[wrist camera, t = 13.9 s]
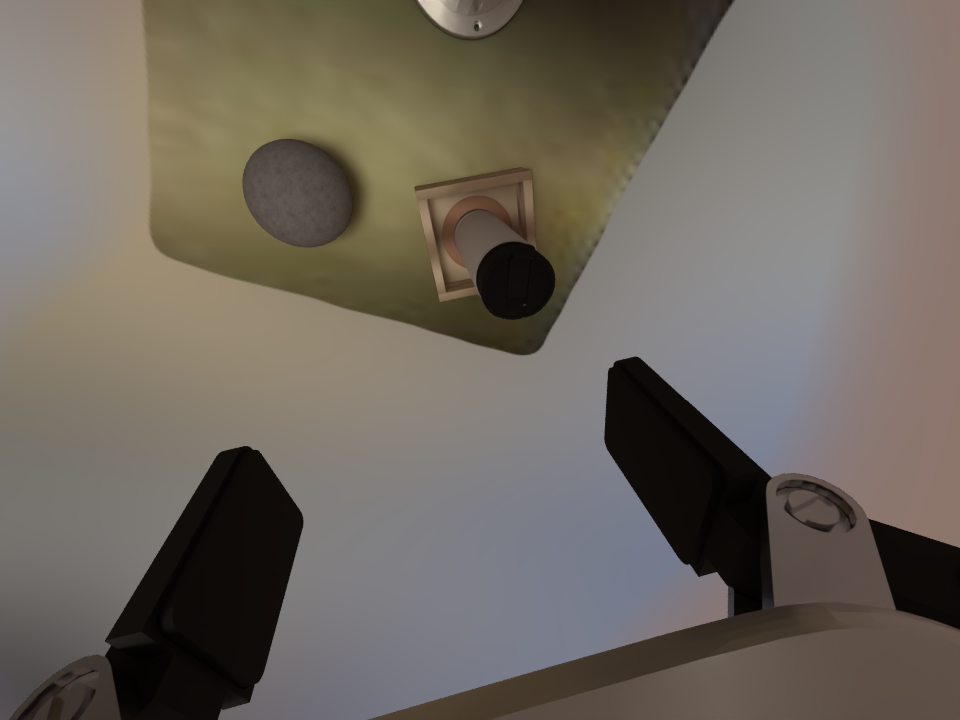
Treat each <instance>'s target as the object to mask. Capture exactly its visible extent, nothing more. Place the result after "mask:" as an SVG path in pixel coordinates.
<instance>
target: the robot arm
mask: <svg viewBox="0 0 960 720" xmlns="http://www.w3.org/2000/svg"><path fill="white" fill-rule="evenodd" d="M522 1H523V0H415V2H416V3H417V5H418V6H419V8H420V9H421V11H422V12H423V14H424V15H425V16H426V17H427V18H428V19H429V20H430V21H431V22H432V23H433V24H434V25H435V26H436V27H438V28H439V29H441V30H442V31H444V32H445V33H447V34H449V35H452V36H454V37H456V38H462V39H468V40H470V39H481V38H483V37H486V36H489V35H492V34H493V33H495V32H496V31H498V30H499V29H501V28H502V27H503V26H504V25H505V24H506V23H507V22H508V21H509V20H510V19H511V18H512V16H513V15H514V14H515V12H516V11H517V10H518V8H519V6H520V5H521V3H522ZM475 25H477V26H478V28H479V31H475V29H474V26H475ZM604 440H605V444H606V447H607V450H608V451H609V453H610V455H611V456H612V458H613V459H614V460H615V462H616V463H617V465H618V467H619V468H620V470H621V471H622V473H623V474H624V476H625V477H626V479H627V480H628V482H629V483H630V485H631V486H632V488H633V489H634V491H635V492H636V494H637V495H638V497H639V499H640V500H641V502H642V503H643V505H644V506H645V508H646V509H647V510H648V512H649V514H650V515H651V517H652V518H653V520H654V521H655V523H656V524H657V526H658V527H659V529H660V530H661V532H662V533H663V535H664V536H665V538H666V539H667V541H668V543H669V544H670V546H671V547H672V549H673V550H674V552H675V553H676V555H677V556H678V558H679V559H680V560H681V561H682V562H683V563H684V564H687V565H688V564H690V565H691V566H692V568H693V569H694V571H695V572H696V574H697V575H698V577H700V576H703V575H707V574H711V573H714V572H718V574H719V575H720V577H721V578H722V579H723V581H724V582H725V583H726V585H728V618H725V619H722V620H718V621H714V622H710V623H706V624H702V625H699V626H695V627H691V628H687V629H683V630H679V631H676V632H672V633H668V634H665V635H661V636H657V637H654V638H651V639H647V640H643V641H640V642H637V643H633V644H629V645H626V646H622V647H619V648H616V649H612V650H608V651H605V652H601V653H597V654H594V655H590V656H587V657H583V658H580V659H577V660H573V661H569V662H566V663H562V664H559V665H555V666H552V667H549V668H545V669H541V670H538V671H534V672H531V673H528V674H524V675H521V676H517V677H514V678H510V679H507V680H503V681H500V682H496V683H493V684H489V685H486V686H482V687H479V688H476V689H472V690H469V691H465V692H462V693H458V694H455V695H451V696H448V697H444V698H441V699H438V700H434V701H431V702H427V703H424V704H420V705H417V706H413V707H410V708H407V709H403V710H400V711H396V712H393V713H390V714H386V715H383V716H379V717H376V718H373V719H369V720H960V548H958V547H955V546H952V545H949V544H946V543H943V542H940V541H936V540H933V539H930V538H927V537H924V536H921V535H918V534H915V533H912V532H908V531H905V530H902V529H899V528H896V527H893V526H890V525H887V524H883V523H880V522H877V521H874V520H871V519H868V518H867V516H866V514H865V512H864V510H863V508H862V507H861V506H860V505H859V504H858V503H857V502H856V501H855V500H854V499H853V498H852V497H851V496H849V495H848V494H847V493H845V492H844V491H842V490H841V489H840V488H838V487H836V486H834V485H832V484H830V483H828V482H826V481H824V480H821V479H818V478H815V477H812V476H809V475H803V474H796V473H789V474H781V475H778V476H775V477H773V478H772V477H770V476H769V475H768V474H767V473H766V472H765V471H764V470H763V469H762V468H761V467H759V466H758V465H757V464H756V463H755V462H754V461H753V460H752V459H750V458H749V456H747V455H746V454H745V453H744V452H743V451H742V450H741V449H740V448H739V447H738V446H736V445H735V444H734V443H733V442H732V441H731V440H730V439H729V438H728V437H727V436H725V435H724V434H723V433H722V432H721V431H720V430H719V429H718V428H717V427H716V426H715V425H713V424H712V423H711V422H710V421H709V420H708V419H707V418H706V417H705V416H704V415H702V414H701V413H700V412H699V411H698V410H697V409H696V408H695V407H693V406H692V404H690V403H689V402H688V401H687V400H685V399H684V398H683V397H682V396H681V395H680V394H678V393H677V392H676V391H675V390H674V389H673V388H672V387H671V386H670V385H669V384H668V383H667V382H666V381H664V380H663V379H662V378H661V377H660V376H659V375H658V374H657V373H656V372H655V371H654V370H652V369H651V368H650V367H649V366H648V365H647V364H646V363H645V362H644V361H643V360H641V359H640V358H639V357H631V358H627V359H623V360H618V361H616V362H615V363H614V365H613V367H612V368H609V370H608V382H607V401H606V417H605V437H604ZM302 528H303V516H302V513H301V511H300V510H299V508H298V507H297V505H296V504H295V503H294V501H293V499H292V498H291V497H290V495H289V494H288V492H287V491H286V489H285V488H284V486H283V485H282V484H281V482H280V481H279V479H278V478H277V476H276V475H275V473H274V472H273V470H272V469H271V468H270V466H269V465H268V463H267V462H266V460H265V459H264V457H263V456H262V454H261V453H260V452H259V451H258V450H253V449H252V448H250V447H249V446H243V447H239V448H234V449H231V450H226V451H222V452H220V453H219V454H218V455H217V456H216V458H215V460H214V461H213V463H212V465H211V466H210V468H209V470H208V472H207V473H206V475H205V476H204V478H203V480H202V481H201V483H200V485H199V486H198V488H197V490H196V491H195V493H194V495H193V496H192V498H191V499H190V501H189V503H188V504H187V506H186V508H185V509H184V511H183V513H182V514H181V516H180V518H179V519H178V521H177V523H176V524H175V526H174V528H173V530H172V531H171V533H170V534H169V536H168V538H167V539H166V541H165V542H164V544H163V546H162V547H161V549H160V551H159V553H158V554H157V556H156V557H155V559H154V561H153V562H152V564H151V565H150V567H149V569H148V570H147V573H146V574H145V575H144V577H143V579H142V580H141V582H140V584H139V585H138V587H137V589H136V590H135V592H134V594H133V595H132V597H131V599H130V600H129V602H128V603H127V605H126V607H125V608H124V610H123V612H122V613H121V615H120V617H119V619H118V620H117V622H116V623H115V625H114V627H113V628H112V630H111V632H110V633H109V635H108V637H107V638H106V640H105V642H107V643H109V644H110V645H111V647H110V648H109V650H108V652H107V653H106V655H105V657H104V656H101V655H92V656H86V657H83V658H81V659H79V660H77V661H75V662H72V663H70V664H68V665H67V666H65V667H64V668H62V669H61V670H59V671H58V672H56V673H55V674H53V675H52V676H51V677H49V679H47V680H46V681H45V682H44V683H42V684H41V685H40V686H39V687H38V688H37V689H36V690H34V691H33V692H32V693H31V695H29V697H28V698H27V699H26V700H25V701H24V702H23V703H22V704H21V705H20V706H19V707H18V708H17V710H16V711H15V712H14V713H13V715H12V716H11V718H10V719H9V720H218V717H219V714H220V711H221V709H223V710H224V709H228V708H232V707H235V706H238V705H242V704H246V703H249V702H250V700H251V696H252V692H253V689H254V685H255V684H256V683H258V682H259V681H260V679H261V677H262V675H263V673H264V670H265V666H266V663H267V659H268V655H269V651H270V647H271V644H272V640H273V636H274V633H275V629H276V625H277V622H278V618H279V614H280V610H281V607H282V603H283V599H284V596H285V592H286V588H287V584H288V581H289V576H290V573H291V569H292V566H293V562H294V558H295V554H296V551H297V547H298V543H299V539H300V536H301V532H302Z"/></svg>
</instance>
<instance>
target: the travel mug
mask: <svg viewBox="0 0 960 720" xmlns="http://www.w3.org/2000/svg"><path fill="white" fill-rule="evenodd" d="M454 242H455V246H456V248H457V250H458V252H459V254H460V256H461V258H462V260H463V262H464V264H465V267H466V269H467V271H468V273H469V275H470V277H471V279H472V281H473V283H474V285H475V287H476V289H477V292H478V294H479V295H480V297H481V298H482V301H483V303H484V304H485V306H486V308H487V309H488V310H489V311H490V313H492V314H493V315H494V316H496V317H500V318H503V319H504V318H505V319H511V320H515V319H521V318H523V317H525V318H526V317H529V316H532V315H534V314H536V313H537V312H539V311H540V310H541V309H542V308H543V307H544V306H545V305H546V304H547V302H548V301H549V300H550V298H551V296H552V294H553V291H554V287H555V273H554V270H553V268H552V266H551V264H550V263H549V261H548V260H547V259H546V258H545V257H543V256H542V255H541V254H540V253H539V252H538V251H537V250H536V249H535V247H534V246H533V245H530V244H529V243H528V242H527V241H525V240H524V239H523V238H522V237H521V236H519V235H518V234H517V233H516V232H515V231H513V230H512V229H511V228H510V227H508V226H507V225H506V224H505V223H504V222H502V221H501V220H500V219H499V218H498V217H496V216H495V215H494V214H493V213H491V212H489V211H487V210H484V209H474V210H471V211H468V212H467V213H465V214H464V215H463V216H461V217H460V219H459V220H458V222H457V224H456V226H455V229H454Z"/></svg>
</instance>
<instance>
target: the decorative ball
mask: <svg viewBox="0 0 960 720" xmlns="http://www.w3.org/2000/svg"><path fill="white" fill-rule="evenodd" d="M243 193H244V197H245V201H246V204H247V206H248V208H249V210H250V212H251V214H252V215H253V217H254V218H255V220H256V221H257V222H258V224H259V225H260V226H261V227H262V228H263V229H264V230H265V231H267V232H268V233H269V234H271V235H272V236H273V237H275V238H277V239H278V240H280V241H282V242H284V243H287V244H290V245H293V246H298V247H317V246H322V245H325V244H327V243H330V242H331V241H333V240H335V239H336V238H337V237H338V236H340V235H341V234H342V232H343V231H344V230H345V228H346V227H347V225H348V223H349V221H350V218H351V214H352V208H353V198H352V193H351V188H350V185H349V182H348V180H347V178H346V176H345V174H344V172H343V171H342V169H341V168H340V166H339V165H338V164H337V163H336V162H335V161H334V160H333V158H331V157H330V156H329V155H328V154H327V153H325V152H324V151H323V150H321V149H319V148H318V147H316V146H314V145H312V144H310V143H307V142H304V141H300V140H294V139H281V140H276V141H272V142H269V143H267V144H265V145H263V146H261V147H260V148H258V149H257V150H256V151H255V152H254V153H253V154H252V156H251V157H250V158H249V160H248V162H247V164H246V166H245V169H244V173H243Z"/></svg>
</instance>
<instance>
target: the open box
mask: <svg viewBox="0 0 960 720" xmlns="http://www.w3.org/2000/svg"><path fill="white" fill-rule="evenodd" d="M415 192H416V197H417V201H418V206H419V210H420V214H421V219H422V223H423V228H424V232H425V237H426V241H427V246H428V250H429V255H430V259H431V264H432V268H433V272H434V277H435V281H436V286H437V290H438V295H439V299H440V302H442V301H446V300H451V299H456V298H461V297H466V296H470V295H475V294H478V292H477V289H476V287H475V285H474V283H473V281H472V279H471V277H470V275H469V273H468V271H467V269H466V267H465V264H464V262H463V260H462V258H461V256H460V254H459V252H458V250H457V248H456V246H455V242H454V229H455V226H456V224H457V222H458V220H459V219H460V217H461V216H463V215H464V214H465V213H467V212H468V211H471V210H474V209H484V210H487V211H489V212H491V213H493V214H494V215H495V216H496V217H498V218H499V219H500V220H501V221H502V222H504V223H505V224H506V225H507V226H508V227H510V228H511V229H512V230H513V231H515V232H516V233H517V234H518V235H519V236H521V237H522V238H523V239H524V240H525V241H527V242H528V243H529V244H530V245H533V246H534V247H535V249H536V239H535V223H534V207H533V191H532V174H531V170H530V169H525V168H515V169H509V170H504V171H498V172H493V173H487V174H482V175H477V176H471V177H466V178H460V179H455V180H450V181H444V182H439V183H433V184H428V185H422V186H417V187H415Z"/></svg>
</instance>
